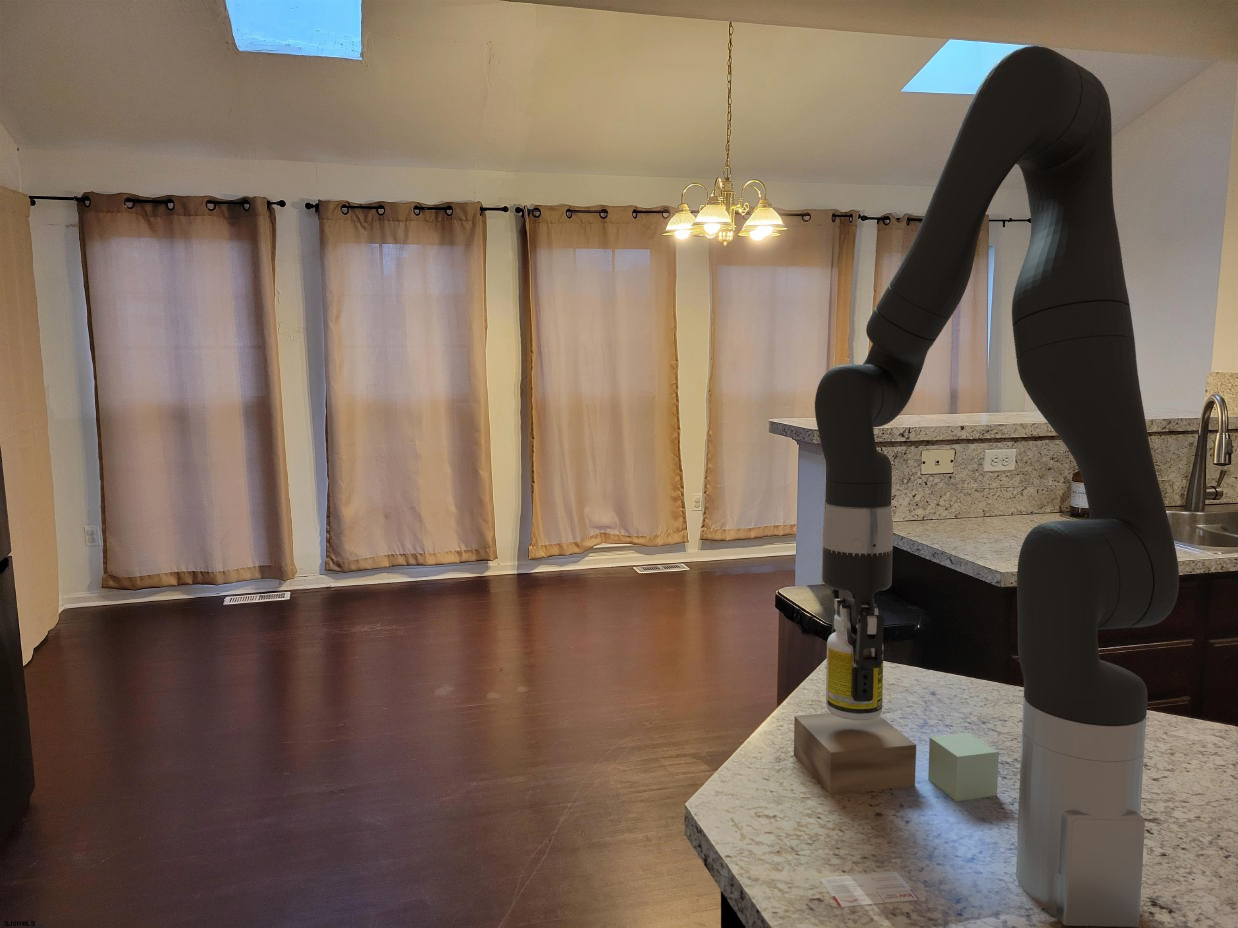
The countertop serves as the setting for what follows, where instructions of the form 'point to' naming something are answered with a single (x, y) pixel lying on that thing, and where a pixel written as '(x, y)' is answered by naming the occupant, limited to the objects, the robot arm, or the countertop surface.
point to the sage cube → (963, 766)
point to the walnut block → (854, 753)
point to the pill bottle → (848, 680)
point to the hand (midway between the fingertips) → (854, 688)
